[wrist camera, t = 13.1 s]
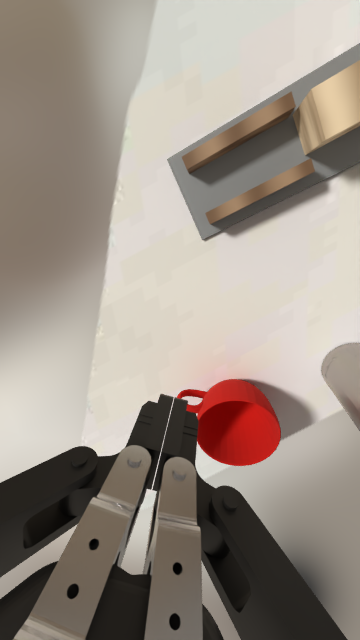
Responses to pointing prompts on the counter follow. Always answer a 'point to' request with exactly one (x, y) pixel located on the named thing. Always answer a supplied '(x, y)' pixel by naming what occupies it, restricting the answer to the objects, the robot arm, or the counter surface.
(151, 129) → the counter surface
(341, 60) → the chute board
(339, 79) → the oak block
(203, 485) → the robot arm
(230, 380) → the ceramic cup
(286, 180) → the chute rails
